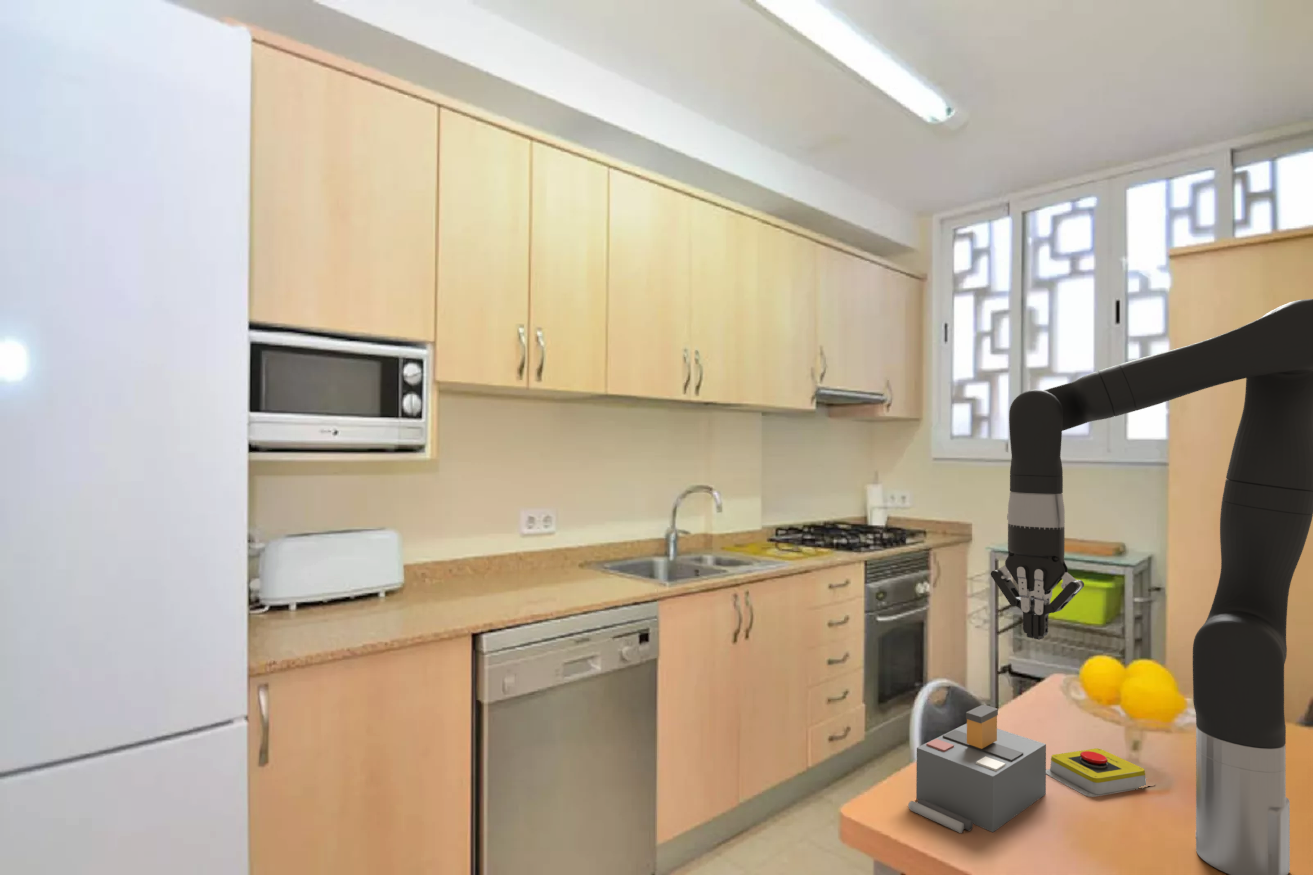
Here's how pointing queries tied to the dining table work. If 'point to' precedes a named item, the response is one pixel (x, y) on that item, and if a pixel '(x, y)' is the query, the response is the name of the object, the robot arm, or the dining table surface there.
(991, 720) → the breaker handle
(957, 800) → the breaker box
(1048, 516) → the robot arm
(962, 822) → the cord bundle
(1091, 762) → the emergency button
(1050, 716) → the dining table surface
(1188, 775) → the dining table surface
